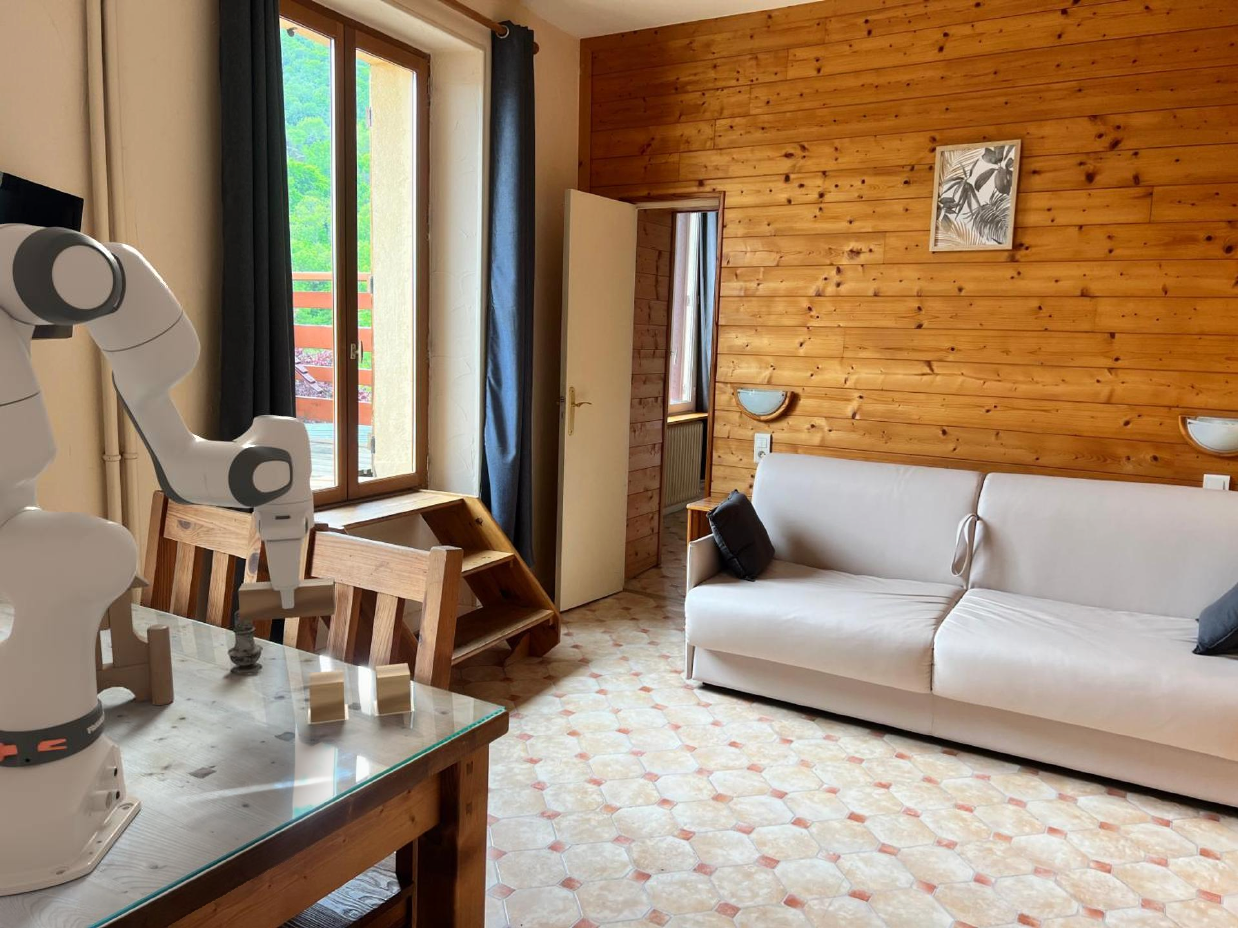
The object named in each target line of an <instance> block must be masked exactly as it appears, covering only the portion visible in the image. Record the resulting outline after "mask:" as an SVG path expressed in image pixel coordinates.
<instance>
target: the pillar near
mask: <svg viewBox="0 0 1238 928" xmlns="http://www.w3.org/2000/svg"><path fill="white" fill-rule="evenodd" d="M344 683H345V682H344V669H340V670H330V671H322V672H320V671H319V672H312V673H309V681H308V684H309V685H308V689H309V691H308V692H309V707H310V708H309V709H310V712H311V723H313V722H321V721H329V720H337V719H345V704H346V703H345V686H344V685H345V684H344Z"/></svg>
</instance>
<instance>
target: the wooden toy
mask: <svg viewBox="0 0 1238 928" xmlns="http://www.w3.org/2000/svg"><path fill="white" fill-rule="evenodd" d="M147 587H150V582H149V580H148V579H147V578H145V577H144V576H143V575H140V574H139V573H138V572H136V574H135V577H134V579H133V581H132V582H131V584H130V585H129V587H128V588H127V589H126V591H125V592H124V593H123V594H122V595H121V596H119V597H118V598H117V599H116V600H114V601H113V602H112V603H111V604H110V606H109V607H108V608H107V610H106V612H105V613H104V616H103V618H102V620H101V623H100V626H99V629H98V633H97V638H96V645H95V664H96V683H97V696H98V695H99V694H100V693H102V692H103V691H105V690H108V689H112V688H123V689H126V690H128V691H130V692H131V693H132V694H133V695H134V697H135V700H136V702H138V703H139V702H145V701H151V703H152V704H153V705H154V706H164V705H168V704H170V703H172V702H174V699H175V691H174V689H175V688H174V680H173V679H174V678H173V677H174V676H173V665H172V663H173V662H172V650H171V638H170V637H171V635H170V634H171V633H170V626H169V625H168V624H163V623H160V624H159V623H158V624H153V625H150V626H148V627H147V628H146V636H147V637H146V636H143V635H141V634H140V633H139V632H138V631H137V630H136V628H135V627H134V623H133V622H134V621H133V611H132V595H131V594H132V593H131V589H140V588H147ZM102 631H103V632H104V631H110V643H111V645H110V646H111V657H112V662H108V663H104V662H103V650H102V649H103V648H102V638H101V637H102V636H101V632H102Z"/></svg>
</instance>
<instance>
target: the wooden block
mask: <svg viewBox="0 0 1238 928" xmlns="http://www.w3.org/2000/svg"><path fill="white" fill-rule="evenodd" d="M335 584H336V583H335V577H326V578H325V577H324V578H310V579H308V578H307V579H299V584H298V587H297V588H296V589H294V607H293V608H288V609H284V608H283V607H282V598H281V593H280V590H274V589H273V587H272V583H271V581H259V582H258V581H257V582H243V583H241V585H240V587H239V589H238V604H239V605H238V607H239V609H238V610H240V621H252V622H253V621H264V620H265V621H267V620H278V619H292V618H293V619H294V618H308V617H310V618H311V617H320V616H323V617H324V616H334V615H335V613H336V608H337V606H336V604H337V603H336V587H335V586H336V585H335Z"/></svg>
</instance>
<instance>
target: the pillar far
mask: <svg viewBox="0 0 1238 928" xmlns="http://www.w3.org/2000/svg"><path fill="white" fill-rule="evenodd" d="M375 684H376V685H375V686H376V687H375V689H376V690H375V692H376V701H377V707H378V714H386V713H394V712H402V711H411V697H412V693H411V690H412V689H411V673H410V668H409V665H408V662H405V663H395V664H386V665H378V666H375Z"/></svg>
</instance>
